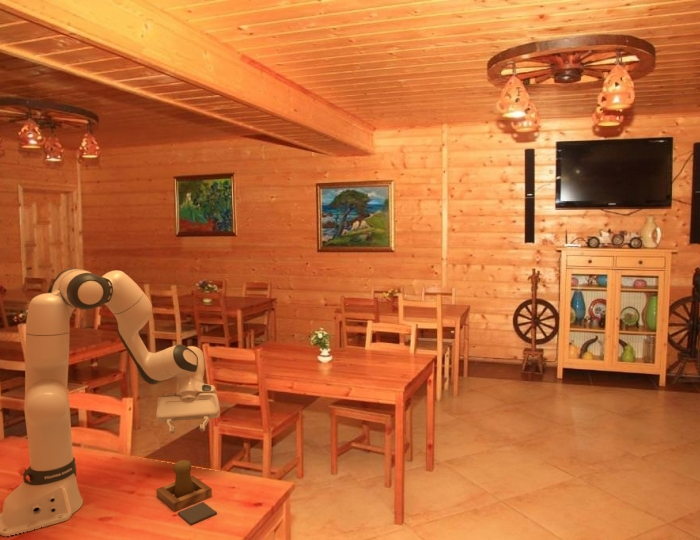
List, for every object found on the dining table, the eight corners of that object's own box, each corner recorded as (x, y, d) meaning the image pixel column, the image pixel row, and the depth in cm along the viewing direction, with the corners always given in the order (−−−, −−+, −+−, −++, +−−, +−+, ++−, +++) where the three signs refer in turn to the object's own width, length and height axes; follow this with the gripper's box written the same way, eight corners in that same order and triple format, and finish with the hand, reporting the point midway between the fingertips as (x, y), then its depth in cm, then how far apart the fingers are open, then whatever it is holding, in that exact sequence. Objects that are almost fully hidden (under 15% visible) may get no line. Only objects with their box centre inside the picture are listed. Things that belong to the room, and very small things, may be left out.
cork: (187, 489, 171) (185, 455, 170) (198, 495, 168) (196, 461, 166) (169, 497, 167) (167, 463, 166) (181, 504, 163) (179, 468, 162)
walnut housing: (174, 511, 159) (174, 503, 158) (156, 496, 167) (156, 488, 167) (211, 496, 167) (211, 488, 167) (193, 482, 176) (192, 475, 175)
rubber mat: (190, 525, 151) (190, 523, 151) (177, 514, 157) (177, 512, 157) (216, 514, 157) (216, 512, 157) (203, 503, 163) (203, 501, 163)
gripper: (156, 390, 182) (151, 430, 173) (219, 385, 184) (218, 425, 176) (159, 398, 186) (155, 438, 178) (221, 394, 189) (220, 432, 181)
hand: (187, 431), depth 177 cm, fingers open, 8 cm apart
